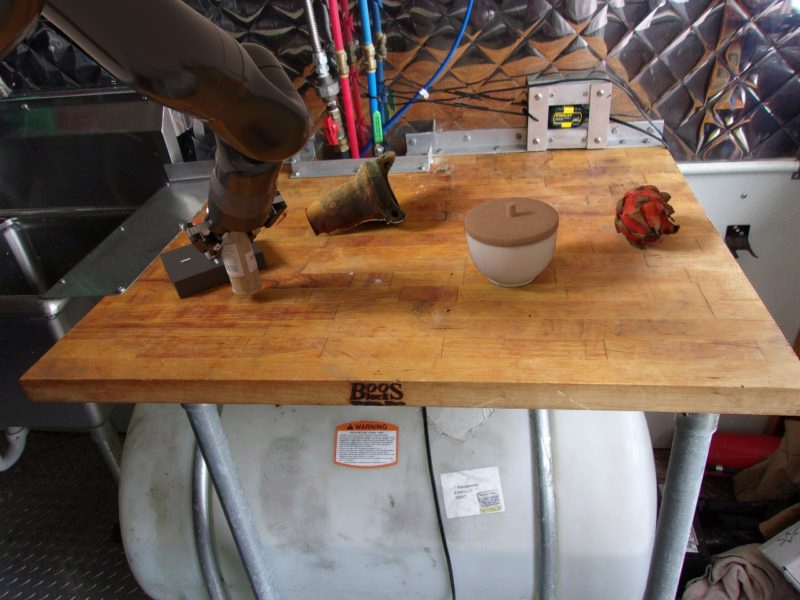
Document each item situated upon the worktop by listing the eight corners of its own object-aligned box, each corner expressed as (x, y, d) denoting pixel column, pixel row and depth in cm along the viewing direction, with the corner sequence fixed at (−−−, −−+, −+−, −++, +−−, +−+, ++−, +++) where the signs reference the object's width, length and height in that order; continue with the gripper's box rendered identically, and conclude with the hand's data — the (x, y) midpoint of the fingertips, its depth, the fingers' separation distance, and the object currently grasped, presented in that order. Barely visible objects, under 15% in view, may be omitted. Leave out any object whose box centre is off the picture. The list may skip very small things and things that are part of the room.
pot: (289, 169, 104) (381, 123, 101) (318, 209, 113) (403, 168, 110) (305, 236, 93) (407, 187, 91) (336, 274, 102) (429, 231, 100)
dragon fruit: (635, 226, 95) (651, 274, 86) (594, 202, 92) (606, 249, 84) (676, 188, 89) (698, 235, 81) (634, 162, 87) (651, 207, 78)
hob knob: (219, 256, 92) (210, 229, 89) (209, 260, 91) (200, 233, 89) (211, 244, 96) (202, 218, 93) (201, 248, 95) (192, 221, 93)
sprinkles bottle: (269, 286, 86) (246, 202, 78) (242, 300, 83) (216, 215, 76) (252, 276, 89) (228, 194, 81) (226, 290, 86) (199, 207, 79)
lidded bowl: (550, 302, 78) (553, 228, 71) (458, 293, 82) (453, 222, 75) (560, 254, 87) (564, 185, 81) (477, 249, 91) (474, 182, 85)
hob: (180, 298, 89) (173, 281, 87) (165, 269, 97) (158, 253, 95) (267, 267, 94) (262, 250, 92) (245, 242, 102) (241, 226, 100)
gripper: (200, 237, 65) (195, 287, 80) (310, 195, 71) (287, 249, 87) (169, 181, 66) (170, 240, 81) (281, 144, 72) (263, 206, 87)
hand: (231, 244), depth 84 cm, fingers closed on sprinkles bottle, 4 cm apart
